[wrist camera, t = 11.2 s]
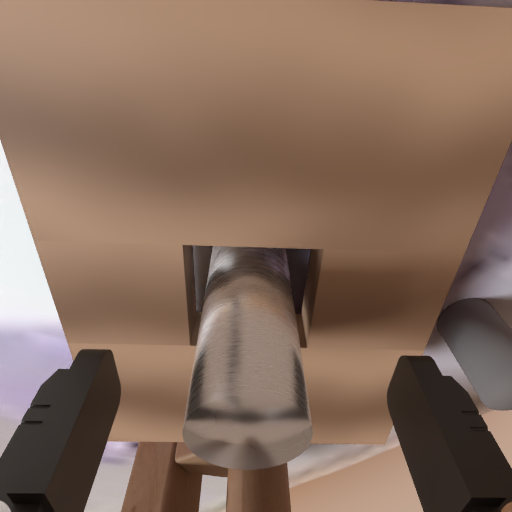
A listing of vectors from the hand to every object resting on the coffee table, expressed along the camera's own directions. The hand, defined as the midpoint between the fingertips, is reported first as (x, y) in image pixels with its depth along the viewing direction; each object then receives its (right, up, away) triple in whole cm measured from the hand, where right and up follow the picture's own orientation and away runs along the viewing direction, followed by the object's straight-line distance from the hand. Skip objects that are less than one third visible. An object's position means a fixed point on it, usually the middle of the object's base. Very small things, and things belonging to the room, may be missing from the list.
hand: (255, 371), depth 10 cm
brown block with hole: (0, +5, +8) cm, 9 cm away
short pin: (+13, 0, +12) cm, 17 cm away
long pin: (0, +5, +8) cm, 9 cm away
